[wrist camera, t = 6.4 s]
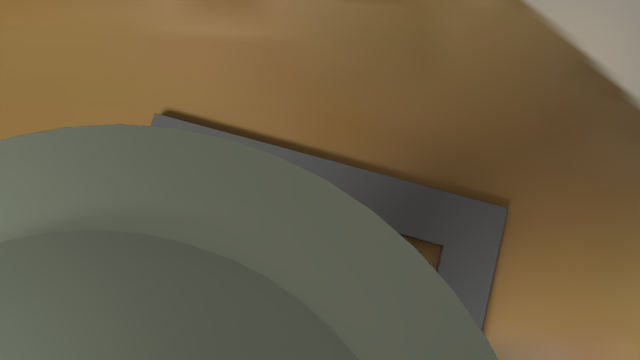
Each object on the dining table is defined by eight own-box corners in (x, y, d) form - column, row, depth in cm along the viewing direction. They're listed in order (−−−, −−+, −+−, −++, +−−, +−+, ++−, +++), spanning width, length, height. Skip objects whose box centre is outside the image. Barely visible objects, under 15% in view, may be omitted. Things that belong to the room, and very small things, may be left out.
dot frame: (504, 209, 22) (507, 208, 21) (418, 604, 19) (421, 611, 19) (157, 116, 23) (154, 113, 22) (30, 486, 20) (25, 489, 20)
